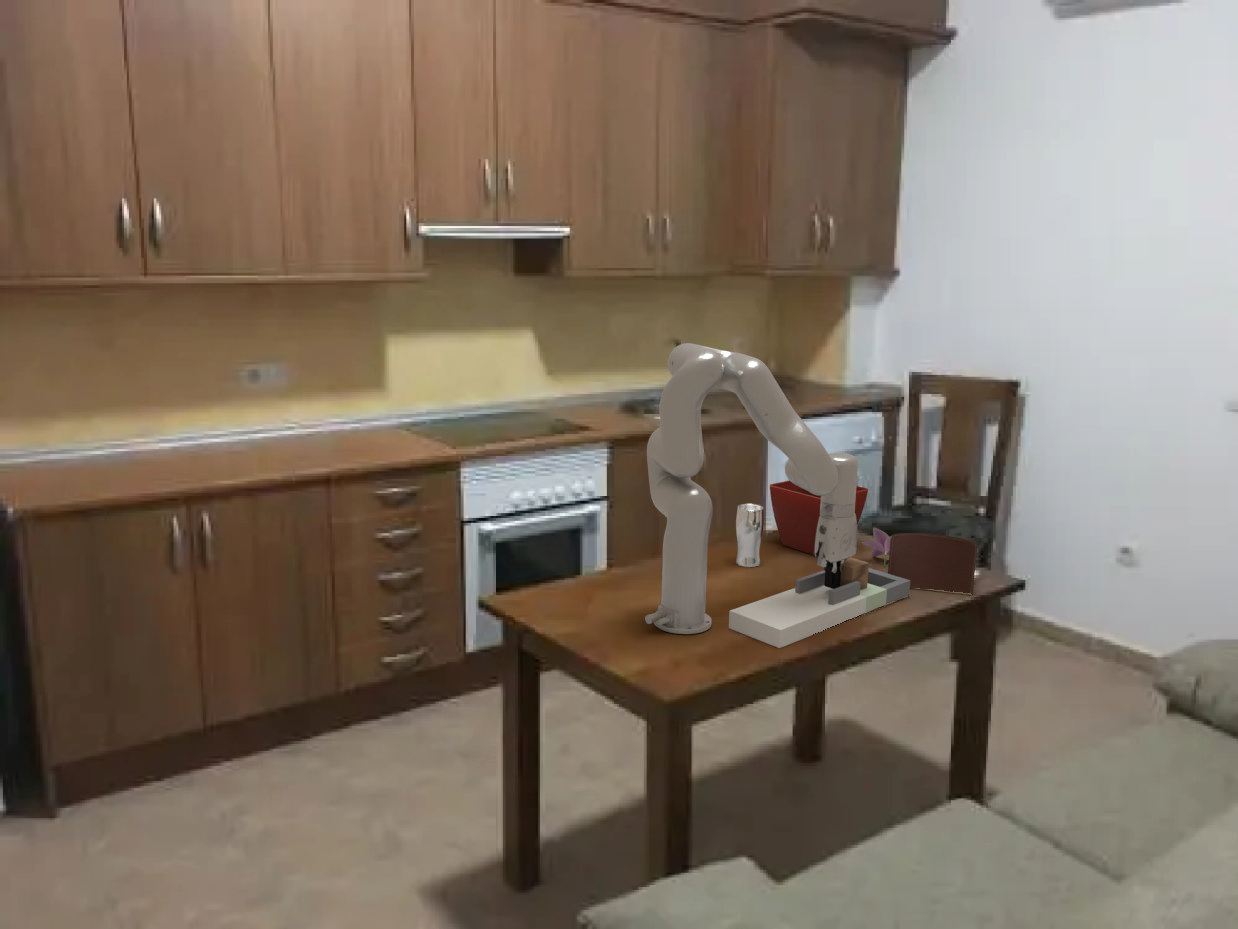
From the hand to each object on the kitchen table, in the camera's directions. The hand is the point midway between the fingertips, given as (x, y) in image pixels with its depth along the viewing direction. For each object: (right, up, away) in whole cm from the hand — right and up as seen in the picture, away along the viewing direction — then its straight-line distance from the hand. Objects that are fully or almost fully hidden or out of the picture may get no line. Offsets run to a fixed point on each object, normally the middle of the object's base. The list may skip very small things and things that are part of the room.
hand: (832, 587), depth 237 cm
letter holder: (+27, -2, +19) cm, 33 cm away
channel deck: (-2, -5, -1) cm, 6 cm away
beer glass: (-15, +2, +31) cm, 35 cm away
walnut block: (+5, 0, +4) cm, 6 cm away
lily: (+21, +2, +34) cm, 40 cm away
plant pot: (+5, +5, +46) cm, 47 cm away
